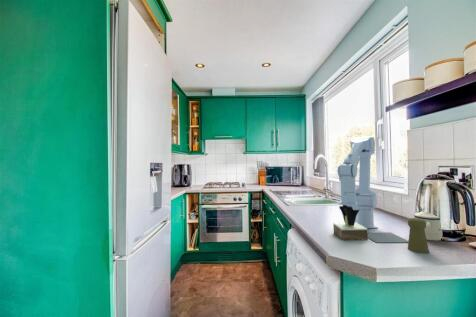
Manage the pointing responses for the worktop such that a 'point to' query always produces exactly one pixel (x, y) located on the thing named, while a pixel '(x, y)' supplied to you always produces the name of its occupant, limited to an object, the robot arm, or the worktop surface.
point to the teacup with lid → (431, 225)
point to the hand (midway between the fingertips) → (349, 224)
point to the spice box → (350, 234)
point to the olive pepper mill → (417, 236)
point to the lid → (349, 226)
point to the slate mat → (386, 238)
